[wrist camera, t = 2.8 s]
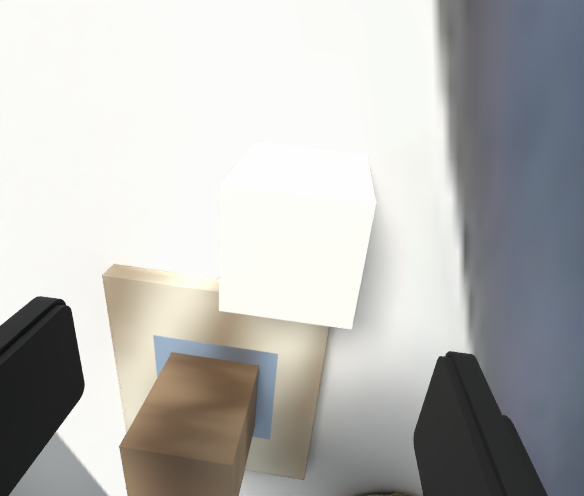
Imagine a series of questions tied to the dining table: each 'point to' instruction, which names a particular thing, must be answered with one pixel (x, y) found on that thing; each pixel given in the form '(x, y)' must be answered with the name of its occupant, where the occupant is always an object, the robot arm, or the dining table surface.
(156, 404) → the walnut block
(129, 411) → the birch board
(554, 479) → the dining table surface
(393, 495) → the bread roll
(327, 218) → the cream block
